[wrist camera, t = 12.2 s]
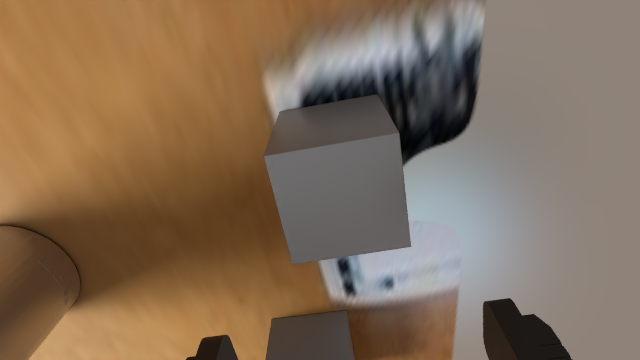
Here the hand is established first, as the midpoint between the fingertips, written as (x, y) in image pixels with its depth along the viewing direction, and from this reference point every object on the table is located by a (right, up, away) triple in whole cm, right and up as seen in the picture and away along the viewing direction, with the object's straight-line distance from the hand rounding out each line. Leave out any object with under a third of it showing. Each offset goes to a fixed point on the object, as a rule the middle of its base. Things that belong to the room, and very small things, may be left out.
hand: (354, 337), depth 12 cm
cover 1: (0, +7, +15) cm, 17 cm away
